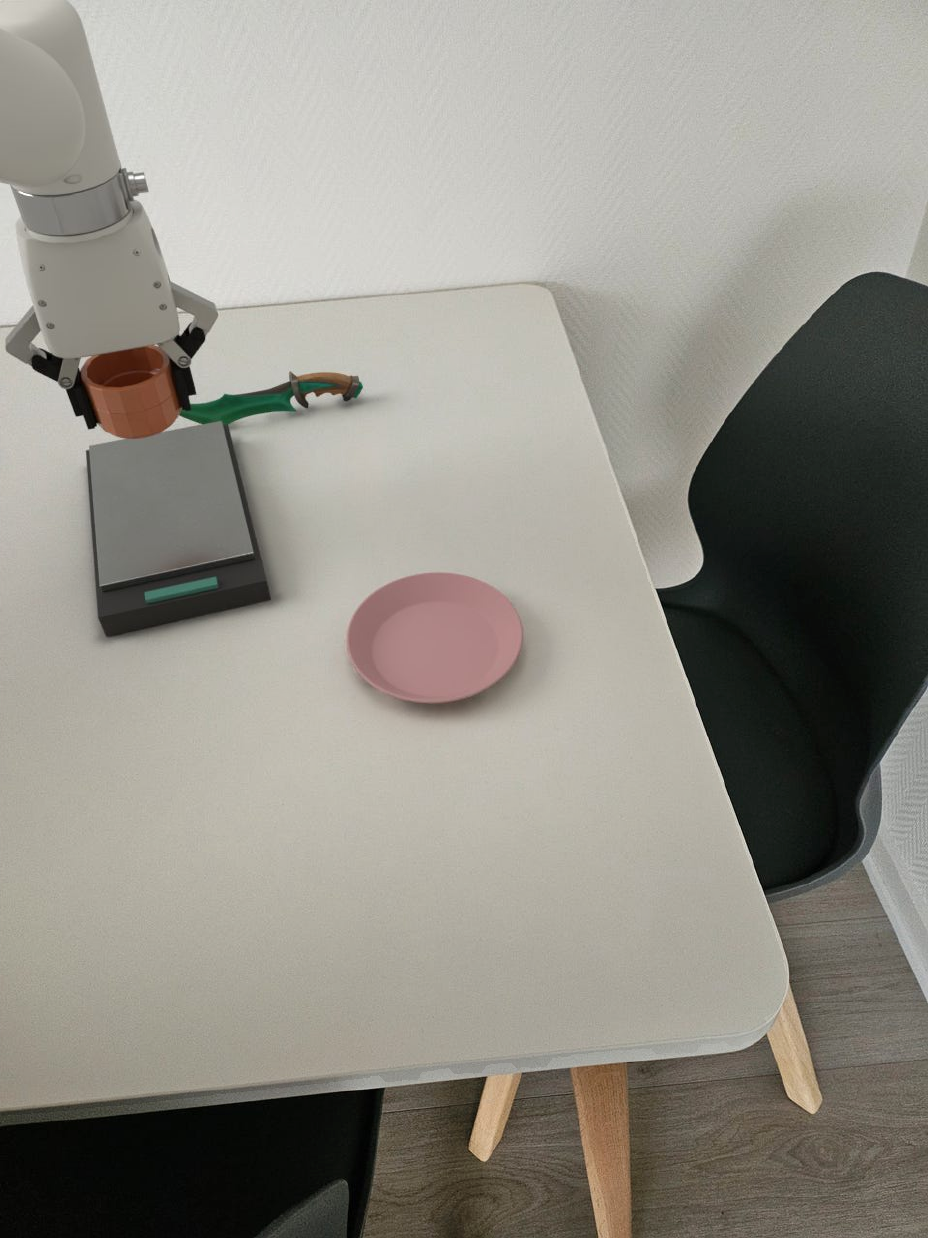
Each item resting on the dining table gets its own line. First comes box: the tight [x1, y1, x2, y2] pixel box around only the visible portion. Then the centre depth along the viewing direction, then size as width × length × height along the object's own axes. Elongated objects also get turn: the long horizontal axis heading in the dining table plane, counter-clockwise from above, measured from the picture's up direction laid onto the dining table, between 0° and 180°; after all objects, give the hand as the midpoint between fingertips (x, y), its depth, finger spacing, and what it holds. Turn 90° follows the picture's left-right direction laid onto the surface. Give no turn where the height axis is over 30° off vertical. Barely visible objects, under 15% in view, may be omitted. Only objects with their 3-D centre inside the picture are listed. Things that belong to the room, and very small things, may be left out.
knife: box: [178, 371, 364, 426], centre depth 102 cm, size 21×2×5 cm, turn 108°
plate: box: [346, 571, 524, 704], centre depth 80 cm, size 14×14×2 cm
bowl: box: [80, 345, 182, 439], centre depth 81 cm, size 7×7×5 cm
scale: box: [85, 421, 272, 638], centre depth 91 cm, size 14×24×3 cm, turn 17°
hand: (138, 409), depth 82 cm, fingers closed on bowl, 7 cm apart
